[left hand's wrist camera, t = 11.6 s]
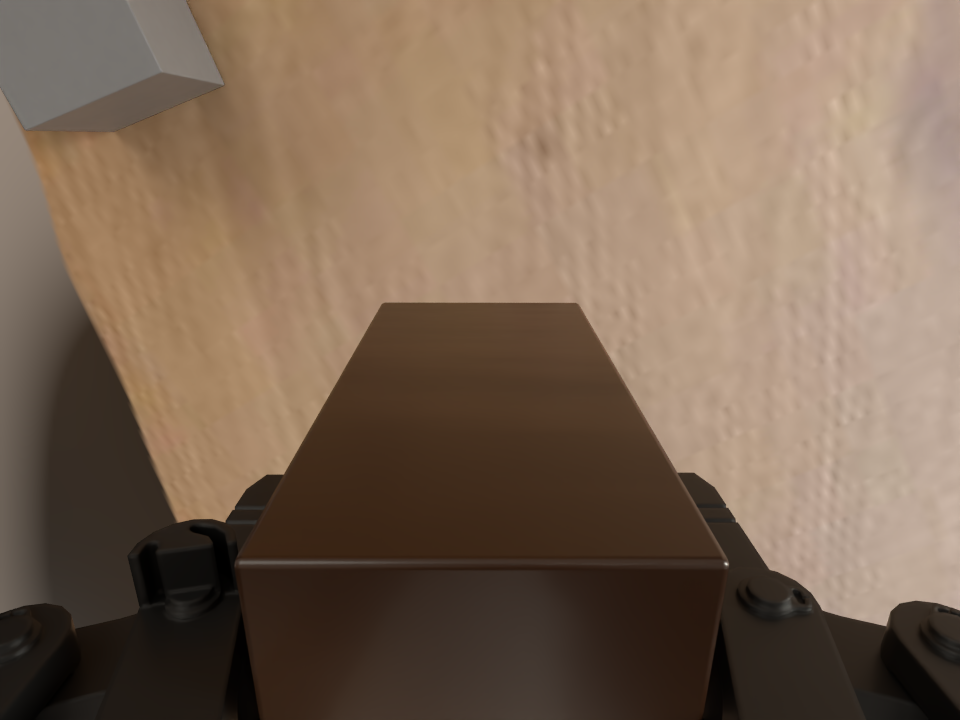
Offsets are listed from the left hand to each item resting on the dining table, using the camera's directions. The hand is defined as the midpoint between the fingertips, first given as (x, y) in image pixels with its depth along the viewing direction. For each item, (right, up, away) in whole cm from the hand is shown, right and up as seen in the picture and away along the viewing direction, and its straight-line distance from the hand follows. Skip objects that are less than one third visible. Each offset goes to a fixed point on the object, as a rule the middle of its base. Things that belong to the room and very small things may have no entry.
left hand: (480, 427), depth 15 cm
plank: (0, -9, +4) cm, 10 cm away
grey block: (-13, +14, +8) cm, 21 cm away
